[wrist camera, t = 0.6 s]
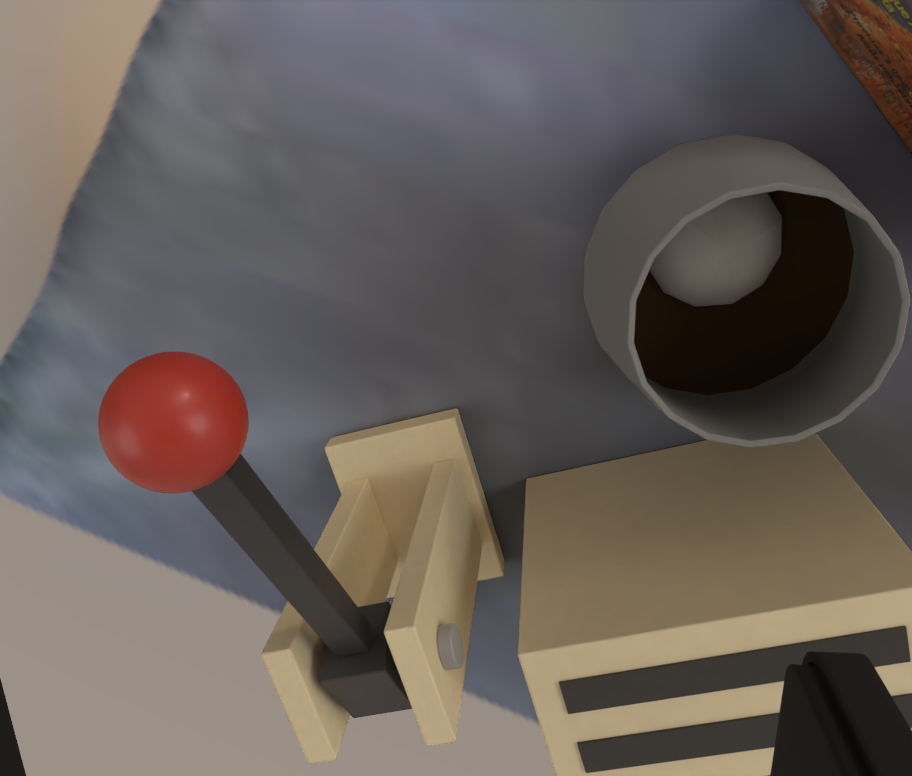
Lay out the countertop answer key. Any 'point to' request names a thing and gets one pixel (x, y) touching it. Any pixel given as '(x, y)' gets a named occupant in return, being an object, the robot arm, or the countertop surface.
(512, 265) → the countertop surface
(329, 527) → the lever bracket
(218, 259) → the countertop surface
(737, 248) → the cup
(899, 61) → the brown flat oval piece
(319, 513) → the countertop surface
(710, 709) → the toaster
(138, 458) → the red knob lever
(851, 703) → the robot arm
